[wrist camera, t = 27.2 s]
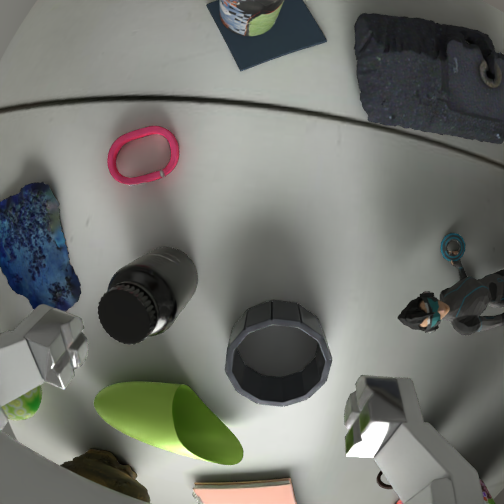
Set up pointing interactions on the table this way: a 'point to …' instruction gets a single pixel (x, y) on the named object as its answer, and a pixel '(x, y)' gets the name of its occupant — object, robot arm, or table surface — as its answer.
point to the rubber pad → (272, 35)
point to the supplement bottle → (147, 295)
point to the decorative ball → (24, 405)
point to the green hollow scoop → (168, 420)
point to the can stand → (270, 387)
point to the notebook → (246, 492)
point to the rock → (36, 249)
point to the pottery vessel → (108, 473)
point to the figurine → (458, 300)
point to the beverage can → (249, 15)
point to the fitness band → (135, 135)
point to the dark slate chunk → (430, 77)
